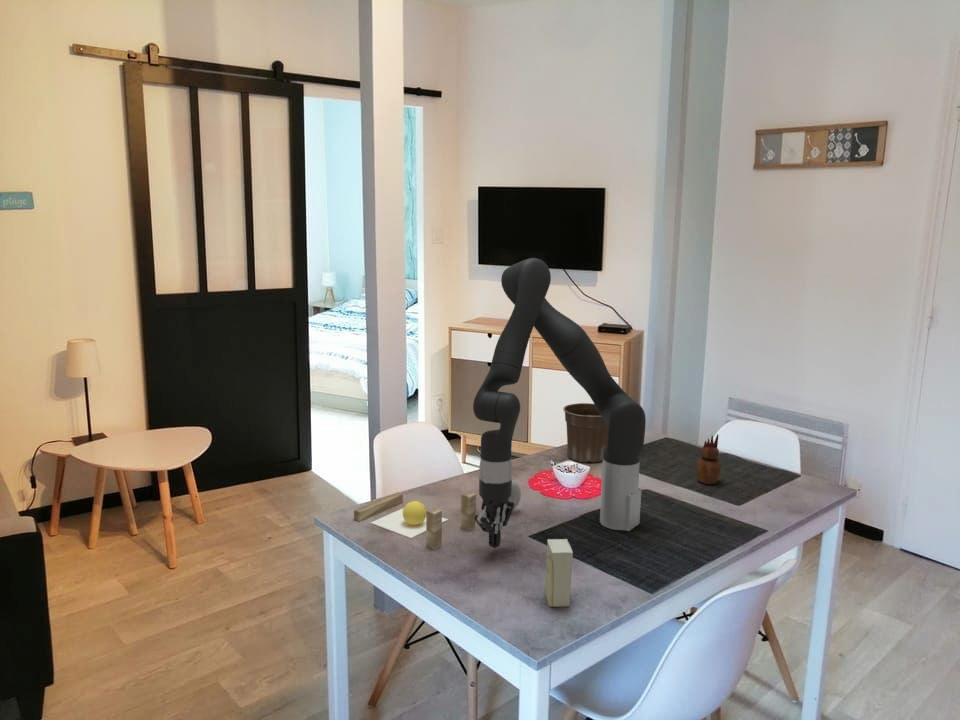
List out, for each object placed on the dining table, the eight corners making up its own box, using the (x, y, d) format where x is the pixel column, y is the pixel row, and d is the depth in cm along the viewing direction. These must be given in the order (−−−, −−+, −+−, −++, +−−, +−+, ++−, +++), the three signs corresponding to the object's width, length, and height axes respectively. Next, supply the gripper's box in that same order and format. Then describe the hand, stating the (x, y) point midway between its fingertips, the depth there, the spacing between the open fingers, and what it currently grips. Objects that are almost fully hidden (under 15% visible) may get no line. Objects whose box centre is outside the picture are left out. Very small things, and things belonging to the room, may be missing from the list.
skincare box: (544, 592, 158) (546, 538, 156) (565, 591, 158) (567, 538, 156) (549, 608, 152) (551, 552, 149) (571, 607, 152) (573, 551, 150)
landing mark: (448, 520, 193) (448, 519, 193) (411, 538, 182) (411, 537, 182) (408, 506, 202) (408, 505, 202) (370, 523, 191) (370, 522, 191)
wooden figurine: (721, 481, 222) (725, 433, 219) (716, 487, 218) (720, 438, 214) (698, 477, 226) (702, 429, 223) (693, 483, 221) (696, 434, 218)
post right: (475, 527, 189) (476, 494, 187) (469, 531, 187) (469, 497, 185) (467, 524, 190) (467, 491, 189) (461, 528, 188) (461, 494, 187)
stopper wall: (402, 502, 204) (402, 493, 204) (359, 521, 192) (359, 512, 191) (397, 500, 205) (397, 492, 205) (354, 519, 193) (353, 510, 192)
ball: (419, 493, 192) (409, 509, 195) (404, 500, 187) (394, 516, 190) (434, 509, 190) (424, 525, 193) (420, 517, 185) (410, 533, 188)
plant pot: (576, 446, 254) (578, 399, 250) (620, 455, 245) (623, 407, 241) (552, 458, 241) (554, 410, 237) (598, 469, 232) (600, 419, 228)
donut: (491, 520, 193) (492, 484, 191) (484, 516, 196) (484, 480, 194) (523, 512, 198) (524, 477, 196) (515, 508, 201) (516, 473, 199)
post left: (441, 545, 179) (441, 510, 177) (434, 549, 177) (434, 513, 175) (433, 542, 180) (433, 507, 178) (426, 546, 178) (426, 511, 176)
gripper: (499, 465, 179) (498, 532, 183) (464, 480, 169) (464, 551, 173) (525, 472, 175) (523, 541, 178) (491, 488, 165) (490, 561, 168)
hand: (494, 546), depth 176 cm, fingers closed
